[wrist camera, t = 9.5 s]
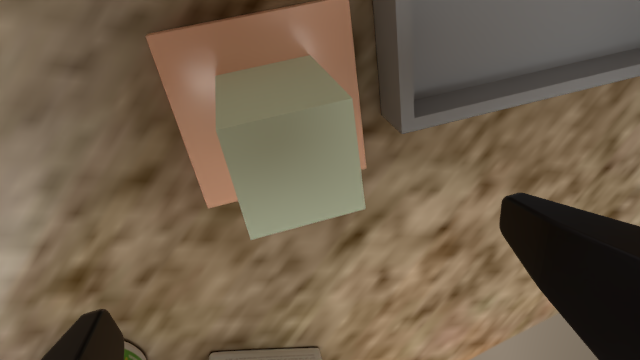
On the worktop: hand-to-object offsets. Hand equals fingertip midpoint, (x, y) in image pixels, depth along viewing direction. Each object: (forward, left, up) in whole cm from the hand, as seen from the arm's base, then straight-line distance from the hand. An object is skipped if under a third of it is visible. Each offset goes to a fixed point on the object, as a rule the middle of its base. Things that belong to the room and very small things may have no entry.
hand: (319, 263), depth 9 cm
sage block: (0, 0, -10) cm, 10 cm away
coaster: (0, 0, -11) cm, 11 cm away
